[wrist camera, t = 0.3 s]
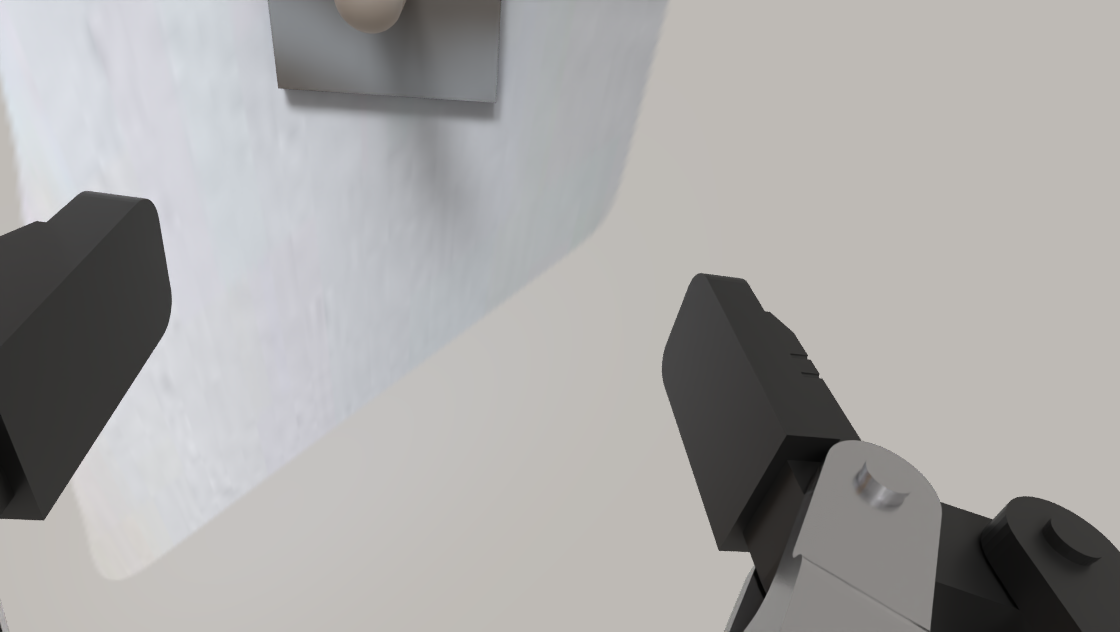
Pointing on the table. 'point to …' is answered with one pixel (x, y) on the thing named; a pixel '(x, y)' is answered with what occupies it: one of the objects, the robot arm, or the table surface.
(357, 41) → the grey post stand
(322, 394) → the table surface
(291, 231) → the table surface
